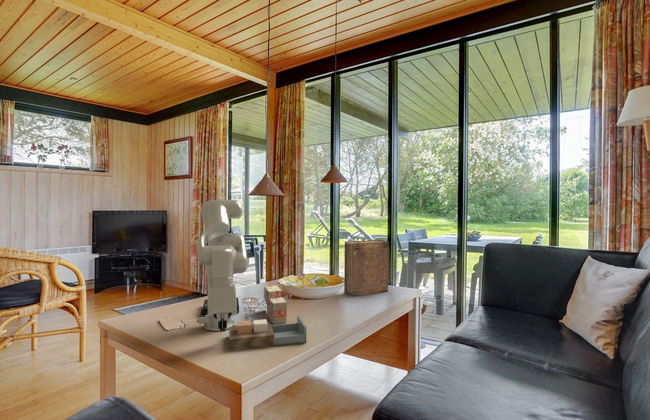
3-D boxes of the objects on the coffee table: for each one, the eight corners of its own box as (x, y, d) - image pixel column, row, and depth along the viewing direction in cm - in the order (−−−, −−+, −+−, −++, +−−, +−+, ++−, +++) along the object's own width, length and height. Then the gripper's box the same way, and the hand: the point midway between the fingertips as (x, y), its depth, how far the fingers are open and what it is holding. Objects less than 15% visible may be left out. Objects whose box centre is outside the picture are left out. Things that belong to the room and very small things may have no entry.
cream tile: (254, 332, 134) (254, 324, 134) (253, 328, 139) (253, 320, 139) (267, 331, 135) (267, 323, 135) (266, 326, 140) (266, 319, 140)
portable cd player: (203, 307, 181) (203, 299, 181) (238, 305, 185) (238, 297, 185) (201, 317, 165) (201, 308, 165) (239, 314, 170) (239, 306, 170)
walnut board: (229, 350, 127) (229, 339, 127) (229, 336, 141) (229, 326, 141) (274, 345, 131) (274, 335, 131) (270, 332, 145) (270, 322, 145)
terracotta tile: (237, 334, 132) (237, 325, 132) (237, 329, 137) (237, 321, 137) (251, 332, 133) (251, 324, 133) (250, 328, 138) (250, 320, 138)
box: (274, 345, 131) (274, 329, 131) (270, 332, 145) (270, 317, 145) (306, 342, 134) (306, 326, 134) (299, 329, 148) (299, 315, 148)
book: (352, 296, 201) (352, 243, 200) (344, 293, 209) (344, 241, 209) (388, 291, 213) (388, 241, 213) (378, 288, 221) (379, 239, 221)
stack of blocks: (286, 323, 157) (286, 295, 157) (272, 324, 155) (272, 296, 154) (276, 309, 177) (276, 284, 177) (263, 310, 175) (263, 285, 174)
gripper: (200, 284, 127) (200, 335, 128) (243, 282, 131) (243, 332, 131) (201, 280, 135) (202, 328, 135) (242, 278, 138) (242, 325, 139)
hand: (222, 330), depth 133 cm, fingers closed
